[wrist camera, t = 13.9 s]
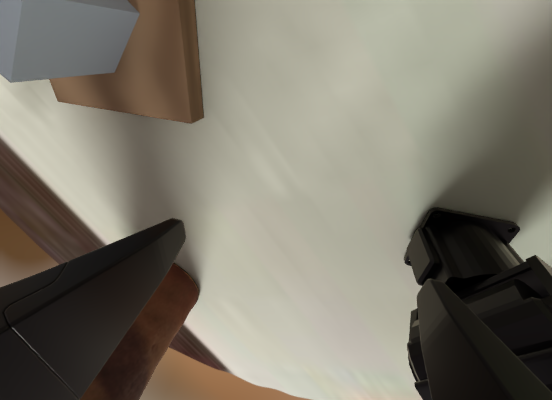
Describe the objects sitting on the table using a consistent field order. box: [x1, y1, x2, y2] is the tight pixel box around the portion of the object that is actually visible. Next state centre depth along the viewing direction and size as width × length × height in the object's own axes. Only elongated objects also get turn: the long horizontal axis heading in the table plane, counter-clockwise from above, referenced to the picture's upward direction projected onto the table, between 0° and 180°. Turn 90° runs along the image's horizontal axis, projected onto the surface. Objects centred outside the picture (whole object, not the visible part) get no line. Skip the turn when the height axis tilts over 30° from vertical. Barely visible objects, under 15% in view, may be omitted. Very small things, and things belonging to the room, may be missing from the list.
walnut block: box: [49, 0, 204, 123], centre depth 18 cm, size 13×13×2 cm
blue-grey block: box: [0, 0, 140, 83], centre depth 14 cm, size 5×5×7 cm
